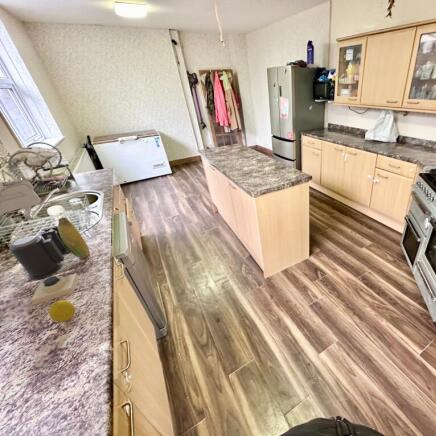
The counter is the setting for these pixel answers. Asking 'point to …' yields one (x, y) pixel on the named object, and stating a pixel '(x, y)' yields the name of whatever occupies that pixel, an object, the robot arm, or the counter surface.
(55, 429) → the counter surface
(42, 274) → the kettle
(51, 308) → the lemon
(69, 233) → the vegetable
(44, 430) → the counter surface
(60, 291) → the socket block
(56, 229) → the black handle
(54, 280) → the power button
